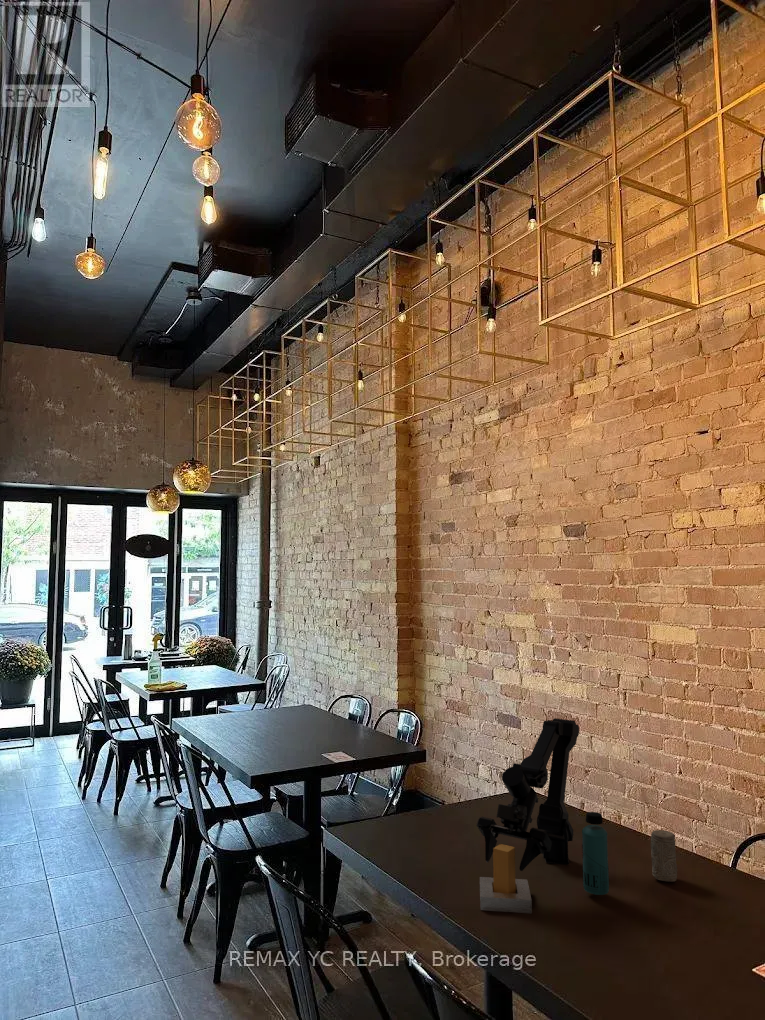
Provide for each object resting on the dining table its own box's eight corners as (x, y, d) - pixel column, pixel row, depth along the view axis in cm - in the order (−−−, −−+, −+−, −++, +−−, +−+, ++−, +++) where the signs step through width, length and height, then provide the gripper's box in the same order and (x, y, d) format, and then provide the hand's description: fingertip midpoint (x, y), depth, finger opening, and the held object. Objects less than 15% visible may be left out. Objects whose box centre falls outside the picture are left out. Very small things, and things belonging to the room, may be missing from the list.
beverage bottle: (610, 892, 177) (607, 810, 180) (609, 903, 171) (607, 818, 173) (583, 889, 179) (581, 807, 182) (582, 899, 173) (580, 815, 175)
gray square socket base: (527, 892, 177) (527, 879, 178) (531, 913, 165) (531, 900, 166) (479, 889, 179) (479, 876, 179) (480, 910, 167) (480, 896, 167)
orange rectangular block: (501, 896, 175) (500, 843, 176) (515, 900, 172) (514, 847, 174) (493, 901, 172) (493, 848, 173) (508, 906, 169) (507, 851, 171)
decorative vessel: (678, 876, 188) (676, 830, 189) (677, 887, 181) (675, 838, 182) (653, 872, 190) (651, 826, 192) (651, 882, 183) (649, 835, 185)
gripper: (479, 784, 184) (458, 840, 174) (546, 797, 173) (528, 857, 163) (493, 808, 190) (474, 863, 179) (558, 821, 179) (542, 881, 169)
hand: (503, 865), depth 173 cm, fingers open, 9 cm apart
